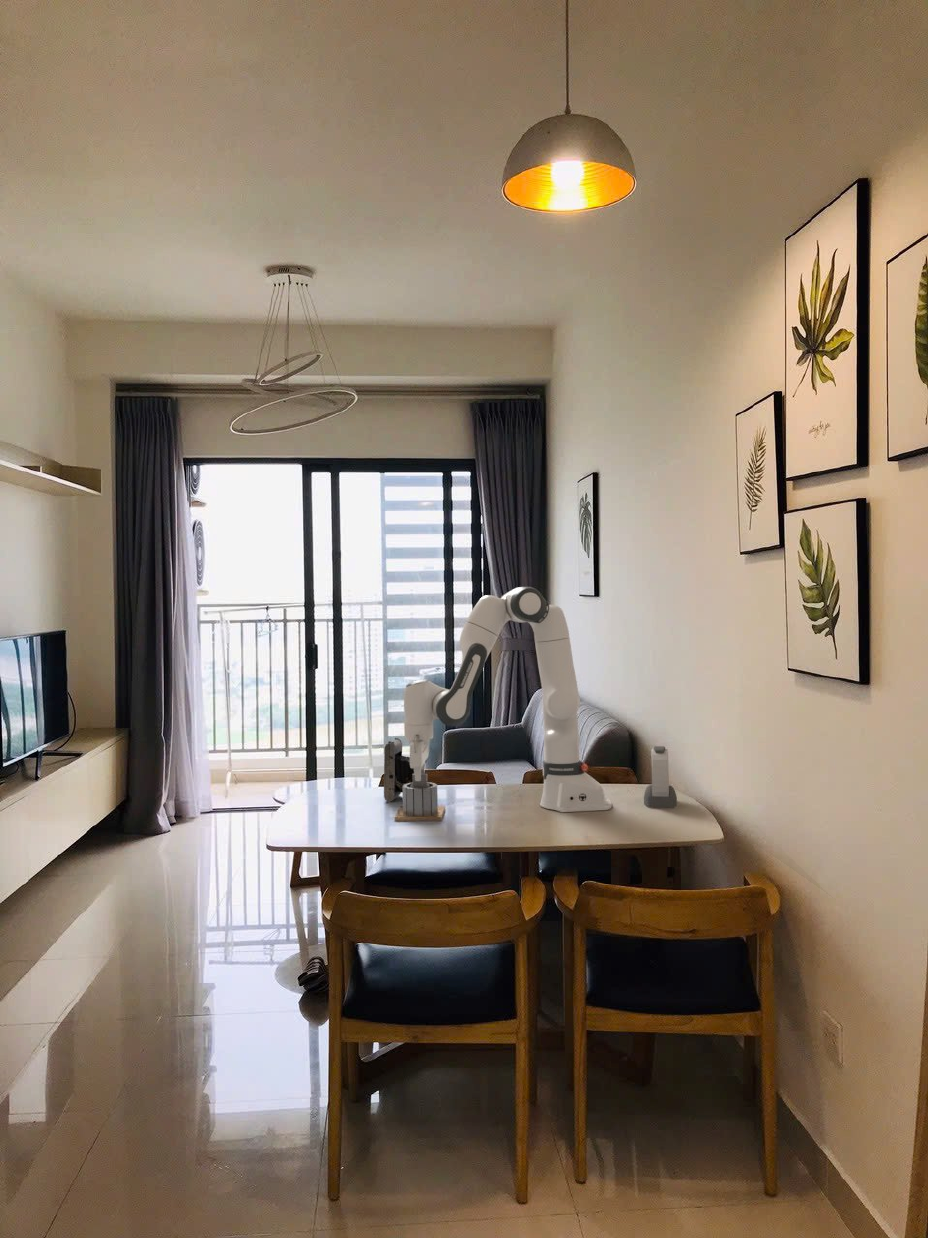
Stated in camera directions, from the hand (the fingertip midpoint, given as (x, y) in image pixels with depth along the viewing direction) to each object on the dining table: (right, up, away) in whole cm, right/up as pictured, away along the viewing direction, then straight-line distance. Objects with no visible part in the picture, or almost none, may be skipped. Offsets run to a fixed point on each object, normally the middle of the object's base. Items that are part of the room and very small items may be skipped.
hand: (419, 777), depth 272 cm
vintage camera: (-4, -11, +23) cm, 26 cm away
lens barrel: (0, -12, 0) cm, 12 cm away
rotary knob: (0, -4, 0) cm, 4 cm away
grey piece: (+76, -10, +9) cm, 77 cm away
